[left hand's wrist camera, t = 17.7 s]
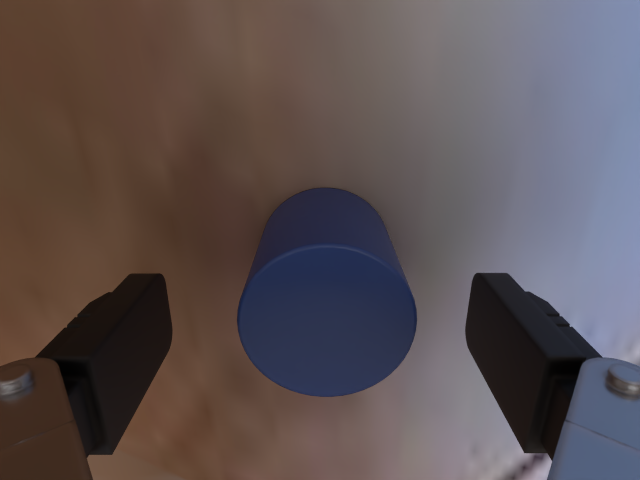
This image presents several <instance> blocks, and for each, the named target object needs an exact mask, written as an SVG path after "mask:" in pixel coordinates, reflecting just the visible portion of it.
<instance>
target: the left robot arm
mask: <svg viewBox="0 0 640 480" xmlns="http://www.w3.org/2000/svg"><path fill="white" fill-rule="evenodd" d="M465 332H466V341H467V346H468V349H469V351H470V353H471V355H472V356H473V358H474V360H475V362H476V364H477V366H478V368H479V369H480V371H481V373H482V375H483V377H484V379H485V381H486V382H487V384H488V386H489V388H490V390H491V392H492V394H493V395H494V397H495V399H496V401H497V403H498V405H499V407H500V408H501V410H502V412H503V414H504V416H505V418H506V420H507V421H508V423H509V425H510V427H511V429H512V431H513V433H514V434H515V436H516V438H517V440H518V442H519V444H520V446H521V447H522V449H523V451H524V453H548V455H549V457H550V458H551V460H552V465H551V468H550V471H549V475H548V478H547V480H640V366H637V365H635V364H632V363H629V362H626V361H622V360H618V359H613V358H603V357H602V356H601V355H600V354H599V353H598V352H597V351H596V350H595V349H594V348H593V347H592V346H591V345H590V344H589V343H588V342H587V341H586V340H585V339H584V338H583V337H582V336H581V335H580V334H579V333H578V332H577V331H576V330H575V329H574V328H573V327H570V324H569V323H568V322H567V321H566V320H565V319H564V318H563V317H562V316H559V313H558V312H557V311H556V310H555V309H554V308H553V307H552V306H551V305H550V304H549V303H548V302H547V301H545V300H543V299H541V298H540V297H538V296H536V295H534V294H532V293H531V292H525V291H524V290H523V289H522V288H521V287H520V286H519V285H518V284H517V283H516V281H515V280H514V279H513V278H512V277H511V276H510V275H509V274H507V273H476V274H475V275H474V277H473V280H472V286H471V292H470V299H469V306H468V313H467V320H466V329H465ZM171 341H172V322H171V315H170V309H169V302H168V295H167V289H166V282H165V279H164V277H163V275H162V274H129V275H128V276H127V277H126V278H125V279H124V280H123V281H122V282H121V284H120V285H119V286H118V287H117V288H116V289H115V290H114V291H113V292H108V293H106V294H104V295H103V296H101V297H99V298H97V299H95V300H94V301H92V302H90V303H89V304H88V305H87V306H86V307H85V308H84V309H83V310H82V311H81V312H80V313H79V314H78V316H77V317H75V318H74V319H73V320H72V321H71V322H70V323H69V324H68V325H67V328H64V329H63V330H62V331H61V332H60V333H59V334H58V335H57V336H56V337H55V338H54V339H53V340H52V341H51V342H50V343H49V344H48V345H47V346H46V347H45V348H44V349H43V350H42V351H41V352H40V353H39V354H38V355H37V356H36V357H35V358H27V359H22V360H18V361H14V362H11V363H8V364H5V365H3V366H0V480H93V478H92V475H91V471H90V468H89V465H88V461H87V457H88V455H112V454H113V452H114V450H115V448H116V447H117V445H118V443H119V441H120V439H121V437H122V436H123V434H124V432H125V430H126V428H127V426H128V425H129V423H130V421H131V419H132V417H133V415H134V414H135V412H136V410H137V408H138V406H139V404H140V403H141V401H142V399H143V397H144V395H145V393H146V391H147V390H148V388H149V386H150V384H151V382H152V380H153V379H154V377H155V375H156V373H157V371H158V369H159V368H160V366H161V364H162V362H163V360H164V358H165V357H166V355H167V353H168V351H169V349H170V345H171Z"/></svg>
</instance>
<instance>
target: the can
mask: <svg viewBox="0 0 640 480" xmlns="http://www.w3.org/2000/svg"><path fill="white" fill-rule="evenodd" d="M237 325H238V332H239V336H240V340H241V343H242V345H243V348H244V350H245V352H246V354H247V355H248V357H249V359H250V360H251V361H252V363H253V364H254V365H255V366H256V368H257V369H258V370H259V371H261V372H262V373H263V374H264V375H265V376H266V377H268V378H269V379H270V380H272V381H273V382H275V383H277V384H278V385H280V386H282V387H284V388H286V389H289V390H291V391H294V392H298V393H301V394H306V395H310V396H320V397H333V396H343V395H348V394H352V393H356V392H359V391H362V390H365V389H367V388H369V387H371V386H373V385H375V384H377V383H378V382H380V381H382V380H383V379H385V378H386V377H387V376H388V375H390V374H391V373H392V372H393V371H394V370H395V369H396V368H397V367H398V366H399V365H400V363H401V362H402V361H403V360H404V358H405V356H406V355H407V353H408V351H409V349H410V347H411V345H412V342H413V340H414V336H415V332H416V325H417V312H416V306H415V301H414V298H413V295H412V293H411V290H410V287H409V285H408V283H407V280H406V278H405V275H404V273H403V270H402V268H401V265H400V263H399V260H398V258H397V255H396V253H395V250H394V248H393V245H392V243H391V240H390V238H389V235H388V233H387V230H386V228H385V225H384V223H383V221H382V219H381V218H380V216H379V214H378V213H377V212H376V211H375V209H374V208H373V207H372V206H371V205H370V204H369V203H367V202H366V201H365V200H363V199H362V198H360V197H358V196H357V195H355V194H352V193H350V192H347V191H344V190H340V189H334V188H317V189H311V190H307V191H303V192H301V193H298V194H296V195H294V196H292V197H291V198H289V199H287V200H286V201H285V202H283V203H282V204H281V205H280V206H279V207H278V208H277V209H276V210H275V211H274V213H273V214H272V215H271V217H270V218H269V220H268V222H267V224H266V227H265V229H264V232H263V235H262V238H261V241H260V244H259V246H258V249H257V252H256V255H255V258H254V261H253V264H252V267H251V270H250V272H249V275H248V278H247V281H246V284H245V287H244V290H243V293H242V295H241V298H240V302H239V306H238V313H237Z"/></svg>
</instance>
